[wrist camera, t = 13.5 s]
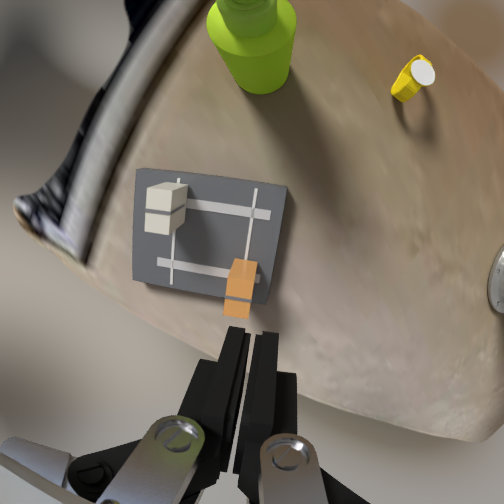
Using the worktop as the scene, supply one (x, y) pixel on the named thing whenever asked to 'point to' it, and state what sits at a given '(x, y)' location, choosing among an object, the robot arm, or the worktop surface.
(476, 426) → the worktop surface
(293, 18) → the soap dispenser
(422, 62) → the watch
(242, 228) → the mixer panel
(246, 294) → the fader orange
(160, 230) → the fader ivory
